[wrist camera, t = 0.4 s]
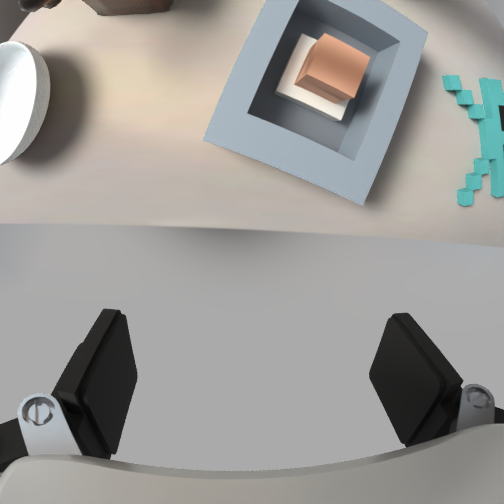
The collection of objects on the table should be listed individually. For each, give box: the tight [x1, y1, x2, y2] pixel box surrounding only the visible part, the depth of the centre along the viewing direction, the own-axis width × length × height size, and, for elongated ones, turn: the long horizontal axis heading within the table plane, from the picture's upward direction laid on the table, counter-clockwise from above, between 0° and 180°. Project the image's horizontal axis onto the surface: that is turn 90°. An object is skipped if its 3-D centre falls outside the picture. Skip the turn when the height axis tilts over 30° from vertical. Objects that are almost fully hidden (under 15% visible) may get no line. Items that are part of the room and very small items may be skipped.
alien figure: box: [442, 75, 504, 206], centre depth 35 cm, size 20×2×20 cm
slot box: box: [203, 0, 428, 206], centre depth 29 cm, size 24×18×7 cm
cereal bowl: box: [0, 41, 50, 165], centre depth 26 cm, size 17×17×7 cm
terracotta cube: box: [294, 33, 370, 103], centre depth 26 cm, size 5×5×6 cm
